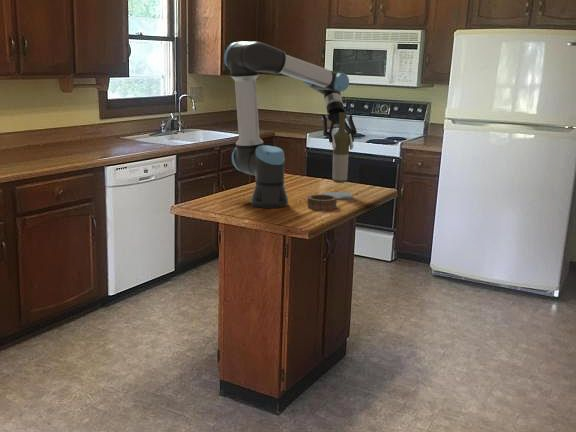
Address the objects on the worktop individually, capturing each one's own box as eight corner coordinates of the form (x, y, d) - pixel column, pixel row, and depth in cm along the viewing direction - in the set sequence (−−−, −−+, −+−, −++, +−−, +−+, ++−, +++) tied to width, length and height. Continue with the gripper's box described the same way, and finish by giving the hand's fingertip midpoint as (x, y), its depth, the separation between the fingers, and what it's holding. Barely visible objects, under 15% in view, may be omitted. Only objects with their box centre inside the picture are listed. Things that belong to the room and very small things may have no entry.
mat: (326, 199, 275) (326, 198, 274) (322, 193, 286) (322, 192, 286) (354, 199, 276) (354, 198, 275) (349, 193, 287) (349, 192, 287)
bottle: (350, 183, 278) (353, 113, 270) (335, 184, 275) (337, 113, 268) (343, 180, 284) (346, 111, 277) (329, 180, 282) (331, 112, 274)
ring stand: (309, 210, 255) (309, 200, 254) (306, 203, 266) (306, 194, 265) (337, 210, 256) (338, 200, 255) (333, 203, 267) (333, 194, 266)
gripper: (354, 111, 289) (363, 152, 278) (311, 111, 285) (318, 153, 274) (358, 100, 283) (367, 142, 271) (314, 100, 279) (322, 142, 267)
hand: (343, 147), depth 273 cm, fingers closed on bottle, 7 cm apart
